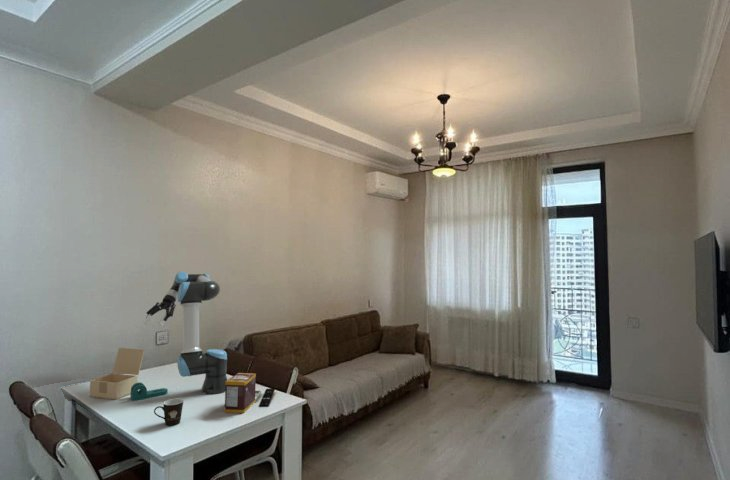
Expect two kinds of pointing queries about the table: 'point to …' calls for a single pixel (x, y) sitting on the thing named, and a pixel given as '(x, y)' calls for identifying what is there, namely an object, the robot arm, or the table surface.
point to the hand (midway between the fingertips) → (152, 324)
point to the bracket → (145, 392)
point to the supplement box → (240, 392)
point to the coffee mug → (171, 411)
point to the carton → (112, 386)
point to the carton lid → (128, 361)
